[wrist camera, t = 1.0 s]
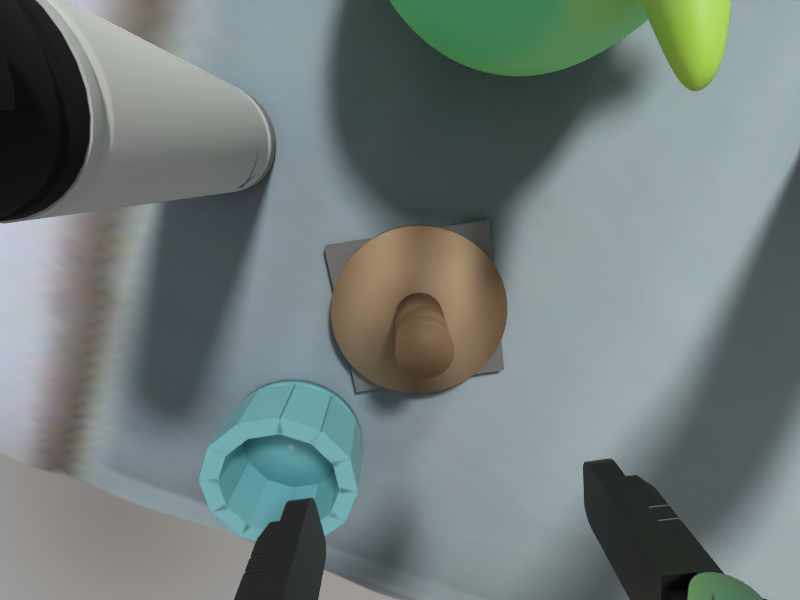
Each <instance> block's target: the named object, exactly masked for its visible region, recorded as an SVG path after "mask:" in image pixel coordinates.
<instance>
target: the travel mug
mask: <svg viewBox="0 0 800 600" xmlns="http://www.w3.org/2000/svg"><path fill="white" fill-rule="evenodd" d="M275 150H276V139H275V133H274V129H273V126H272V123H271V121H270V118H269V116H268V115H267V113H266V112H265V110H264V109H263V107H262V106H261V105H260V104H259V103H258V102H257V101H256V100H255V99H254V98H253V97H252V96H250V95H249V94H248V93H246V92H244V91H242V90H240V89H238V88H236V87H234V86H233V85H231V84H229V83H227V82H225V81H223V80H221V79H219V78H217V77H215V76H213V75H211V74H209V73H207V72H205V71H203V70H201V69H200V68H198V67H196V66H194V65H192V64H190V63H188V62H186V61H184V60H182V59H180V58H178V57H176V56H174V55H172V54H170V53H169V52H167V51H165V50H163V49H161V48H159V47H157V46H155V45H153V44H151V43H149V42H147V41H145V40H143V39H141V38H139V37H137V36H136V35H134V34H132V33H130V32H128V31H126V30H124V29H122V28H120V27H118V26H116V25H114V24H112V23H110V22H108V21H106V20H104V19H103V18H101V17H99V16H97V15H95V14H93V13H91V12H89V11H87V10H85V9H83V8H81V7H79V6H77V5H75V4H73V3H72V2H70V1H68V0H0V223H11V222H18V221H24V220H33V219H40V218H47V217H55V216H62V215H69V214H77V213H84V212H91V211H99V210H106V209H113V208H121V207H128V206H135V205H143V204H150V203H157V202H164V201H172V200H179V199H186V198H194V197H201V196H208V195H216V194H223V193H230V192H237V191H243V190H246V189H249V188H251V187H253V186H254V185H256V184H257V183H259V182H260V181H261V180H262V179H263V178H264V177H265V176H266V175H267V173H268V171H269V170H270V168H271V166H272V163H273V160H274V157H275Z"/></svg>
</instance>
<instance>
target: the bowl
mask: <svg viewBox="0 0 800 600" xmlns="http://www.w3.org/2000/svg"><path fill="white" fill-rule="evenodd" d="M362 453H363V447H362V435H361V428H360V425H359V422H358V419H357V417H356V415H355V413H354V412H353V410H352V409H351V407H350V406H349V405H348V404H347V403H346V402H345V401H344V400H343V399H342V398H341V397H340V396H339V395H337V394H336V393H334V392H333V391H331V390H329V389H328V388H326V387H324V386H321V385H319V384H316V383H312V382H308V381H302V380H281V381H276V382H272V383H269V384H266V385H264V386H262V387H260V388H258V389H256V390H255V391H253V392H252V393H250V394H249V395H248V396H247V397H246V398H245V399H244V400H243V401H242V402H241V404H240V405H239V406H237V407H236V408H235V409H234V410H233V411H232V413H231V414H230V416H229V417H228V419H227V420H226V422H225V423H224V425H223V426H222V428H221V429H220V431H219V432H218V434H217V435H216V436H215V438H214V439H213V441H212V442H211V444H210V445H209V447H208V449H207V452H206V456H205V459H204V463H203V466H202V470H201V473H200V477H199V479H200V480H199V482H200V485H201V488H202V490H203V493H204V496H205V498H206V501H207V504H208V506H209V509H210V512H212V514H213V515H214V516H216V517H217V518H218V519H219V520H220V521H222V522H223V523H224V524H225V525H226V526H228V527H229V528H230V529H231V530H232V531H234V532H235V533H236V534H237V535H238V536H240V535H241V537H243V538H246V539H250V540H254V541H257V538H258V537H259V536H260V534H261V533H262V532H263V531H264V529H265V528H266V527H267V525H268V524H269V523H270V522H275V521H280V519H281V516H282V513H283V510H284V507H285V504H286V502H287V501H289V500H297V499H304V498H314V500H315V503H316V506H317V510H318V513H319V517H320V521H321V524H322V528H323V532H324V536H326V535H327V534H329V533H330V532H332V531H333V530H334V529H336V528H337V527H339V526H340V525H342V524H343V523H345V521H346V519H347V517H348V514H349V512H350V510H351V507H352V505H353V503H354V500H355V498H356V496H357V493H358V486H359V478H360V470H361V461H362Z"/></svg>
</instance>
